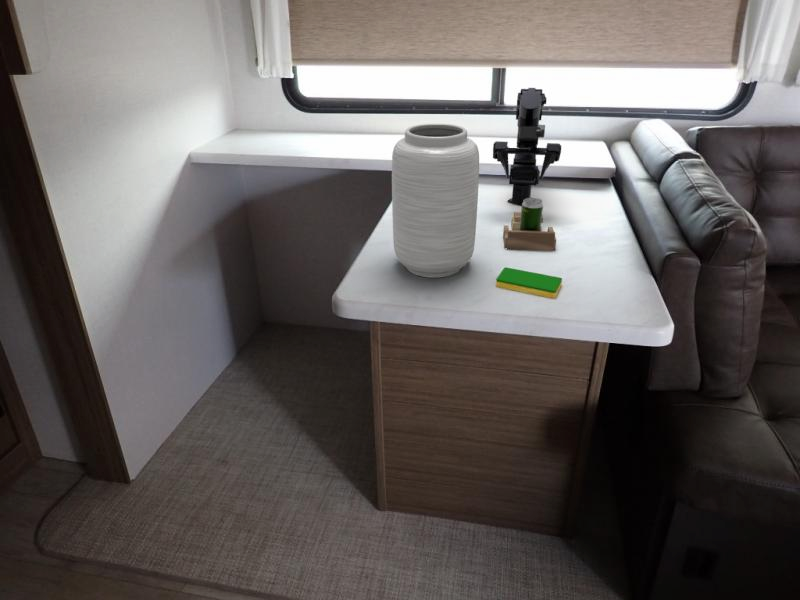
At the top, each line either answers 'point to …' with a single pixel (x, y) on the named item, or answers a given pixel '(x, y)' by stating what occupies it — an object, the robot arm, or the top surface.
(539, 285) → the dish sponge
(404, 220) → the vase
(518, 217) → the offcut stack
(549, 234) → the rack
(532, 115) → the robot arm
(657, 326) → the top surface
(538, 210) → the beer can
